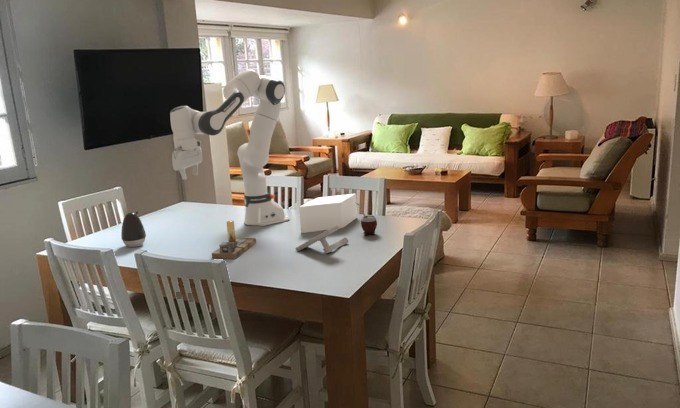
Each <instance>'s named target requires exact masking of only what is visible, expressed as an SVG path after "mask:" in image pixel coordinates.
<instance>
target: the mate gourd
mask: <svg viewBox="0 0 680 408" xmlns="http://www.w3.org/2000/svg"><path fill="white" fill-rule="evenodd" d="M355 203H356V205H358V206H359V208H360V209H361V212H362V214H363V215H362V218H361V221H360V225H361V228H362V230H363V234H364V235H363V236H364V237H367V236H376V233H375V232H376V229H377V226H378V221H377V217H375V216H374V215H371V214H370V215H366V214H365V211H364V209H363V207H362V205H361V204H360V203H358V202H357V201H356V202H355Z"/></svg>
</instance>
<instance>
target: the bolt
mask: <svg viewBox="0 0 680 408" xmlns="http://www.w3.org/2000/svg"><path fill="white" fill-rule="evenodd" d="M226 230H227V232H226V233H227V239H228V241H227V242H234V246H235V245H236V244H237V243H238V241H236V238H237V237H236V230H235V220H227V221H226ZM223 250H224V251H228V247H223Z"/></svg>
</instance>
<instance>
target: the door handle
mask: <svg viewBox="0 0 680 408" xmlns="http://www.w3.org/2000/svg"><path fill="white" fill-rule="evenodd" d="M339 229H340V228H339V227H338V225H337V226H334V227H332V228H330V229H328V230H323V232H320V234H318V235H316V236H314V237H313V238H310V239H309V240H307V241H306V242H304V243H302V244H301V245H298V246H297V247H295V250H296V251H297V252H300V251H301V250H304V249H306V248H308V247H310V246H312V245H313V244H315V243H317V242H320V243H321V246H322V247H323V248H322V250H323V252H324V254H329V253H331V252H333V251H334V250H335V249H338V248H340V247H342V246H344V245H347V244H348V243H349V238H348V237H343V238H342V239H340V240H338V241H335V243H333V244H329V243H328V241H327V239H326V238H327V236H329V235H331V234H333V233H335V232H337V231H338V230H339Z"/></svg>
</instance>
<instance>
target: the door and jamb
mask: <svg viewBox="0 0 680 408" xmlns="http://www.w3.org/2000/svg"><path fill="white" fill-rule="evenodd" d="M235 238H236V241H238V243H237V244H236V245H235V246H234V242H228V241H223V242H221V243H220V244H219V245H218V246H219V248H217V249H216V250H214V251H213V252H211V259H228V260H229V259H233V260H234V259H237V258H238V257H240V255H242V254H243V253H244V252H246V251H247V250H248V249H250V248H251V247H253V246H254V245H255V244H256V243H257V239H256V238H255V237H253V238H252V237H235ZM223 247H228V251H224V250H223Z"/></svg>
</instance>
